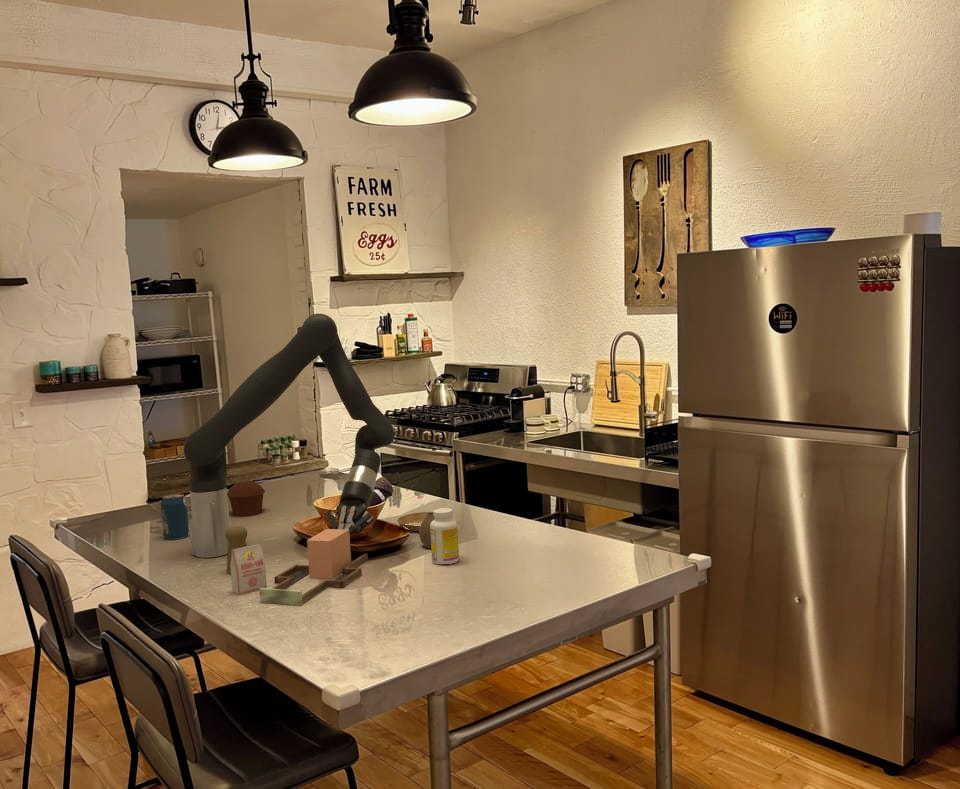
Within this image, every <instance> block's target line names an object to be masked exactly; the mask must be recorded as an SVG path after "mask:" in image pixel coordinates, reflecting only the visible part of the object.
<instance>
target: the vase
mask: <svg viewBox="0 0 960 789" xmlns="http://www.w3.org/2000/svg"><path fill="white" fill-rule="evenodd" d="M429 512H430V513H427V515H426V517H425V519H424V520H423V522H422V523H421V526H420V530H419V532H418V535H419V539H420V542H421V544H422V545H423V546H424V547H425V548H427V547H429V548H428V549H431V532H430V524H431V522H432V521H433V520H435V517H434V516H433V511H429Z"/></svg>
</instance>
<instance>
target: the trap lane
mask: <svg viewBox="0 0 960 789" xmlns="http://www.w3.org/2000/svg"><path fill="white" fill-rule="evenodd" d="M368 560H369V554H368V553H364V554H362V555H360V556H359V557H357V558H356V559H355V560H353V561H351V563H350V564H348V565H347V566H345V567H344V568H342V571H343V572H342V574H339V575H338V576H336V577H335V578H333V579H328V578H325V579H324V580H323V581H321V582H320V583H319V584H316V585H315V586H314V587H312V588H311V589H309V590H308V591H306V592H305V593H303V591H302V590H299V589H297V590H296V589H287V588H289V587H291V586H292V585H294V584H296V583H297V582H299V581H300V580H302V579H304V578H305V577H306V576H309V564H297V563H296V564H294V565H292V566H291V567H289V568H287V569H285V570H284V571H282V572H281V573H278V574H277V575H275V576H274V584H277V585H275V586H273V587H271V588H270V587H267V588H260V589H259V590H258V591H259V599H260V600H259V602H260V603H263V604H264V603H267V604H278V605H279V604H280V605H290V606H291V605H292V606H303V604H305V603H306V602H308V601H310V600H311V599H312V598H314V597H315V596H317V595H318V594H320V593H321V592H323V591H325V590H326V589H327V588H335V589H336V588H338V589H343V588H345V587H347V586H348V585H349V584H351V583H352V582H354V581H355V580H357V579H358V578H360V577H361V576H362V575H363V574H362V572H363V571H362V570H363V569H362V568H360V566H361V565H362V564H364V563H365V562H367V561H368ZM357 567H359V568H357Z"/></svg>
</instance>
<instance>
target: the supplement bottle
mask: <svg viewBox="0 0 960 789" xmlns="http://www.w3.org/2000/svg"><path fill="white" fill-rule="evenodd" d="M432 512H433V516H434V517H435V520H433V521H432V522H431V524H430V532H431V548H430V549H431V560H432V563H433V562H434V563H433V564H435V563H436V564H435V565H438V564H450V565H452V564H451V563H454V564H456V563H457V561H458V562H459V560H460V552H459V536H458V535H459V533H458V522H457V521H456V519H454V518H453V514H454V513H453V509H452V508H448V507H441V508H436V509H433V510H432ZM455 562H456V563H455Z"/></svg>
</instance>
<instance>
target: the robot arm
mask: <svg viewBox="0 0 960 789" xmlns="http://www.w3.org/2000/svg"><path fill="white" fill-rule="evenodd" d="M318 357H319V358H320V359H321V361H322V363H323V364H324V366H325V368H326V370H327V372H328V374H329V376H330V378H331V380H332V383H333V385H334V387H335V390H336V392H337V395H338V396H339V398H340V400H341V402H342V404H343V405H344V407H345V409H346V410H347V413H348V415H349V417H350V418H351V419H352V420H354V421H363V422H364V423H365V425H363V426H361V427H360V428H359V429H358V431H357V433H356V435H355V440H354V442H355V443H354V458H353V461H352V464H351V467H350V470H349V472H348V474H347V477H346V480H345V482H344V486H343V488H342V492H341V494H340V497H339V503H338V505H337V506H336V507H335V510H338V512H337V514H338V515H337V516H336V513H334V512H333V511H334V510H333V511H329V510H328V511H327V512H326V514H325V515H326V517H327V519H328V521H329V524H330V526H331V529H342V530H349V536H350V537H352V535H359V534H360V533H361V532H362V531H363V530H364V529H366V528H367V527H368V526H369V525H370V524H371V523H372V522H374V520H375V519H374V517H373V515H372V514H371V513H370V512H369V506H370V503H371V500H372V496H373V493H374V490H375V488H376V487H375V486H376V481H377V478H378V474H379V470H380V466H381V463H382V457H381V455H380V454H379V453H378V452H377V451H375V450H377V449H381V448H384V447H387V446H389V445H391V444H392V443H393V442H394V441H395V436H396V435H395V429H394V426H393V424H392V422H391V421H390V420H389V419H388V418H387V417H386V415H384V413H383V412H382V411H381V410H380V409H379V408H378V407H377V406H376V405H375V403H374V402H373V401H372V398H371V396H370V395H369V393H368V391H367V389H366V387H365V386H364V384H363V382H362V380H361V379H360V377H359V375H358V374H357V372H356V370H355V369H354V367H353V365H352V364H351V361H350V360H349V358H348V356H347V354H346V352H345V350H344V348H343V344H342V342H341V340H340V335H339V333H338V327H337V324H336V321H335V320H334V319H332V317H330V316H329V315H327V314H325V313H313V314H311V315H309V316H308V317H307V318H305V320H304V321H303V323H302V325H301V327H300V329H299V330H298V331H297V333H296V334H295V335H294V336H293V337H292V338H291V340H290V341H288V343H287V344H286V345H285V346H284V347H283V348H282V349H280V351H278V352H277V353H275V354H274V355H273V356H272V357H270V358H269V359H267V360H266V361H265V362H263V363H262V364H261V365H260V366H258V368H256V369H255V370H254V371H253V372H252V373H251V374H250V375H249V376H248V377H247V378H246V379H245V380H244V381H243V382H241V384H240V385H239V386H238V387H237V388H236V390H235V391H234V392H233V393H232V394H231V395H230V397H229V398H228V399H227V400H226V402H225V403H223V405H222V407H221V408H220V409H219V410H218V411H217V412H216V413H215V415H213V416H212V417H211V418H210V419H209V420H207V421H206V422H204V424H203V425H201V426H200V427H199V428H197V429H196V430H194V431H193V432H191V433H190V434H189V435H188V436H187V437H186V438H185V441H184V444H183V453H184V457H185V459H186V460H187V461H188V462H189V463H190V464H189V465H190V474H189V484H188V487H189V496H190V507H191V518H189V519H188V526H189V534H190V546H191V548H190V549H191V556H195V557H198V558H203V559H204V558H205V559H206V558H207V559H209V558H215V557H221V556H225V555H228V540H227V539H226V536H225V533H226V530H227V529H228V528H230V527H231V526H230V523H231V522H230V513H229V512H230V511H229V500H228V499H229V498H228V495H227V493H228V490H227V478H228V469H227V450H226V449H227V448H226V447H227V446H228V444H229V443H230V442H231V441H232V440H233V439H234V437H235V436H236V435H238V433H240V432H241V431H242V430H243V429H244V428H246V427H247V426H248V425H249V424H251V423H252V422H253V421H255V420H256V419H257V418H259V417H260V416H261V415H262V414H264V412H266V411H267V410H268V409H269V408H270V407H271V406H272V405H274V403H275V402H276V401H277V400H278V399H279V398H280V397H281V396H282V395H283V394H284V393H285V391H287V390H288V389H289V387H290V386H291V385H292V384H293V382H294V381H295V380H296V379H297V377H298V376H299V375H300V374H301V372H302V371H303V370H304V369H305V368H306V367H307V366H308V365H310V364H311V363H312V362H313V361H314V360H316V359H317V358H318ZM367 508H368V510H367ZM347 510H350V511H349V512H347ZM366 510H367V511H366ZM338 518H339V520H338V522H337V520H336V519H338Z"/></svg>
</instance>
